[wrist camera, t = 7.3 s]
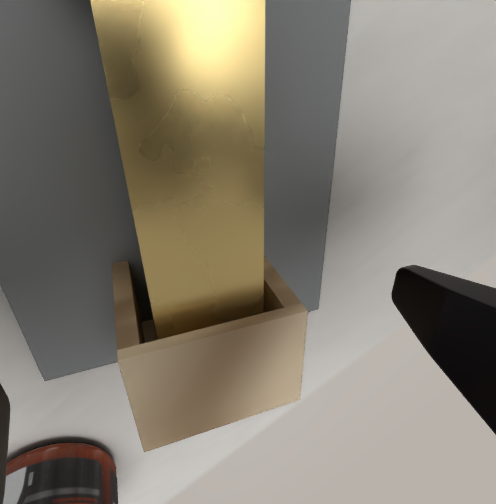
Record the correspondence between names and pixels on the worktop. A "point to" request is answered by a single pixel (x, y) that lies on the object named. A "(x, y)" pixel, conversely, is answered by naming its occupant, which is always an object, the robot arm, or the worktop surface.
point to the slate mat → (113, 177)
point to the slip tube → (191, 150)
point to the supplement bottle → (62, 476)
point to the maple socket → (208, 363)
